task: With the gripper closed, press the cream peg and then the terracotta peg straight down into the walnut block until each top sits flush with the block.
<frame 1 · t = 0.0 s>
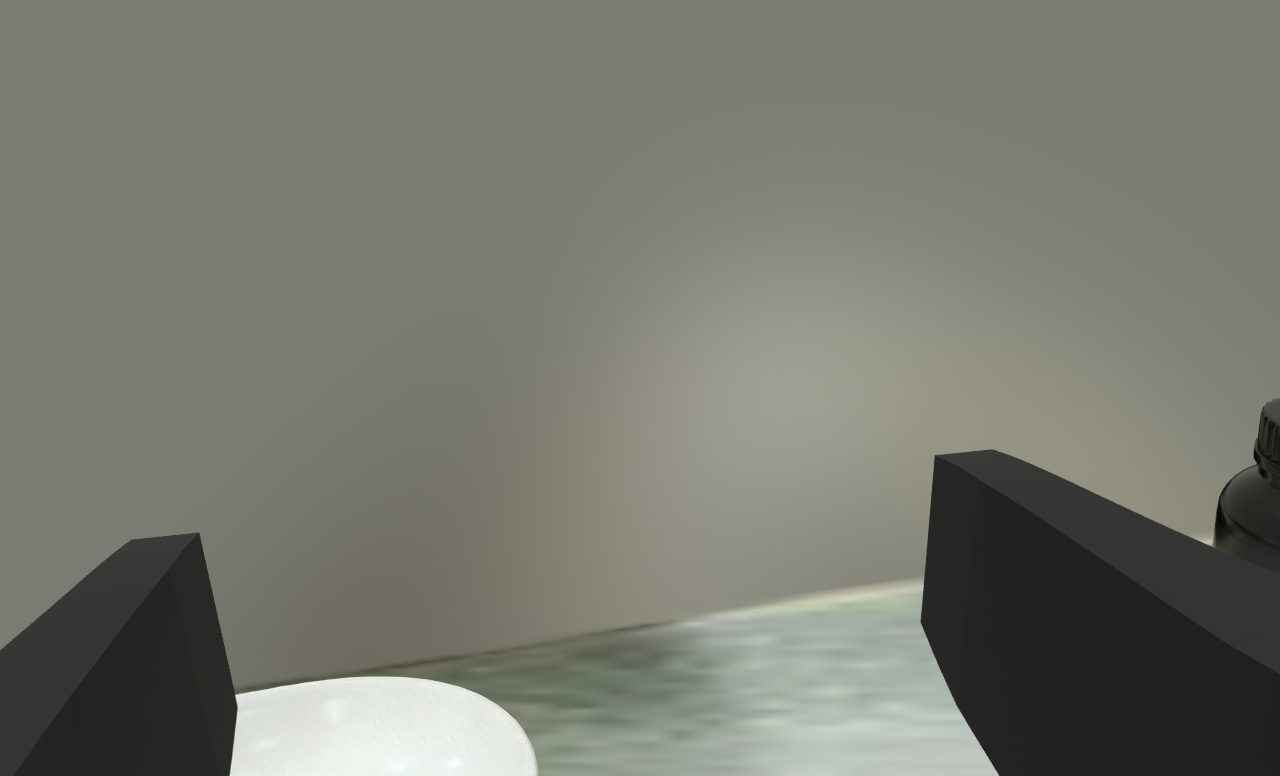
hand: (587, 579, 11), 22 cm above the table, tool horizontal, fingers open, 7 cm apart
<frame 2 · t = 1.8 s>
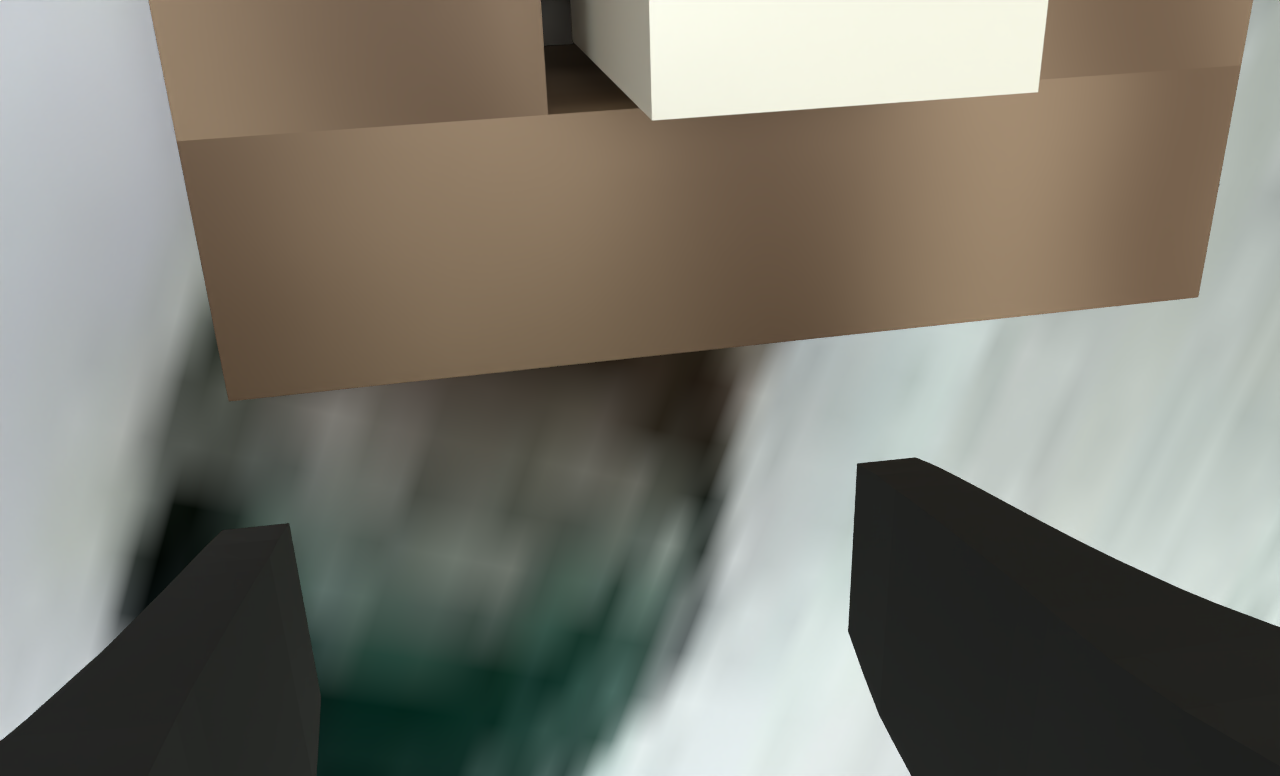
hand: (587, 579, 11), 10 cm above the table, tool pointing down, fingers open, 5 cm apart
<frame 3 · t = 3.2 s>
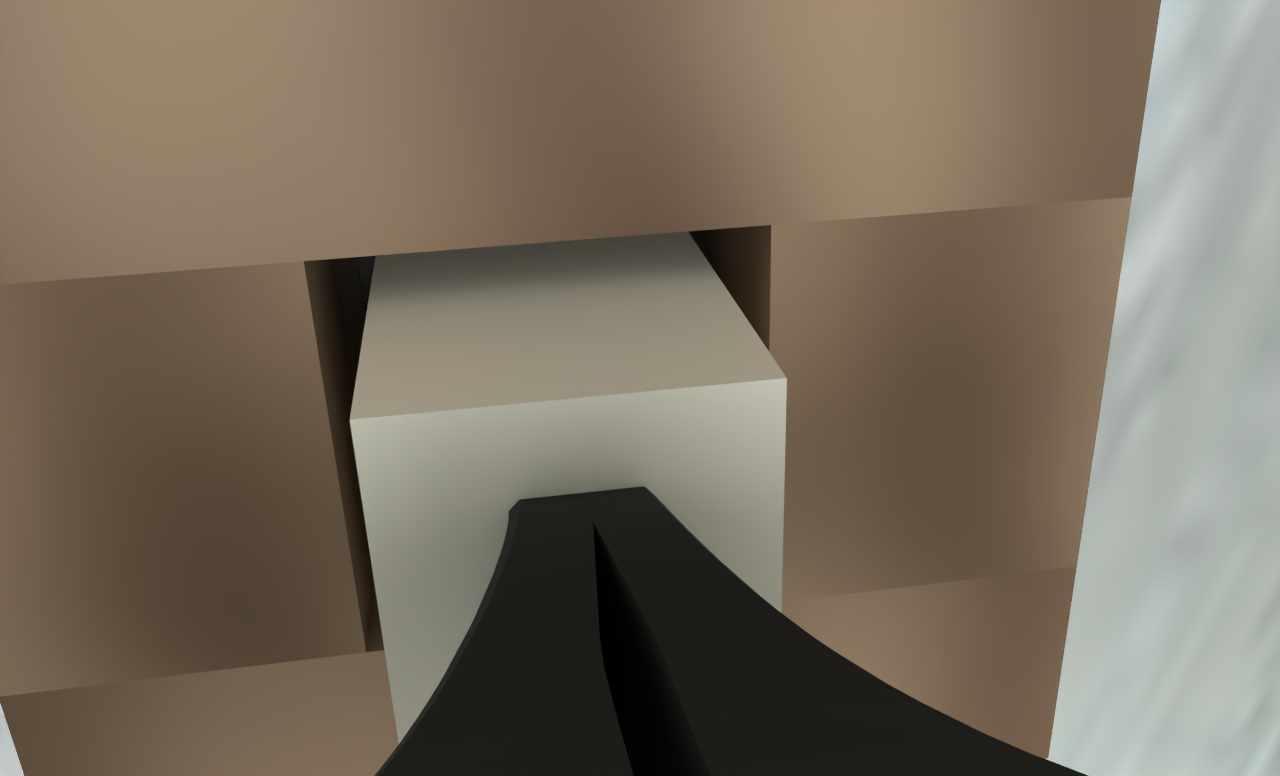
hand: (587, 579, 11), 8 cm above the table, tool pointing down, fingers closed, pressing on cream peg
cream peg: (559, 457, 14), point 6 cm above the table, slide at 2.8 cm, touching gripper
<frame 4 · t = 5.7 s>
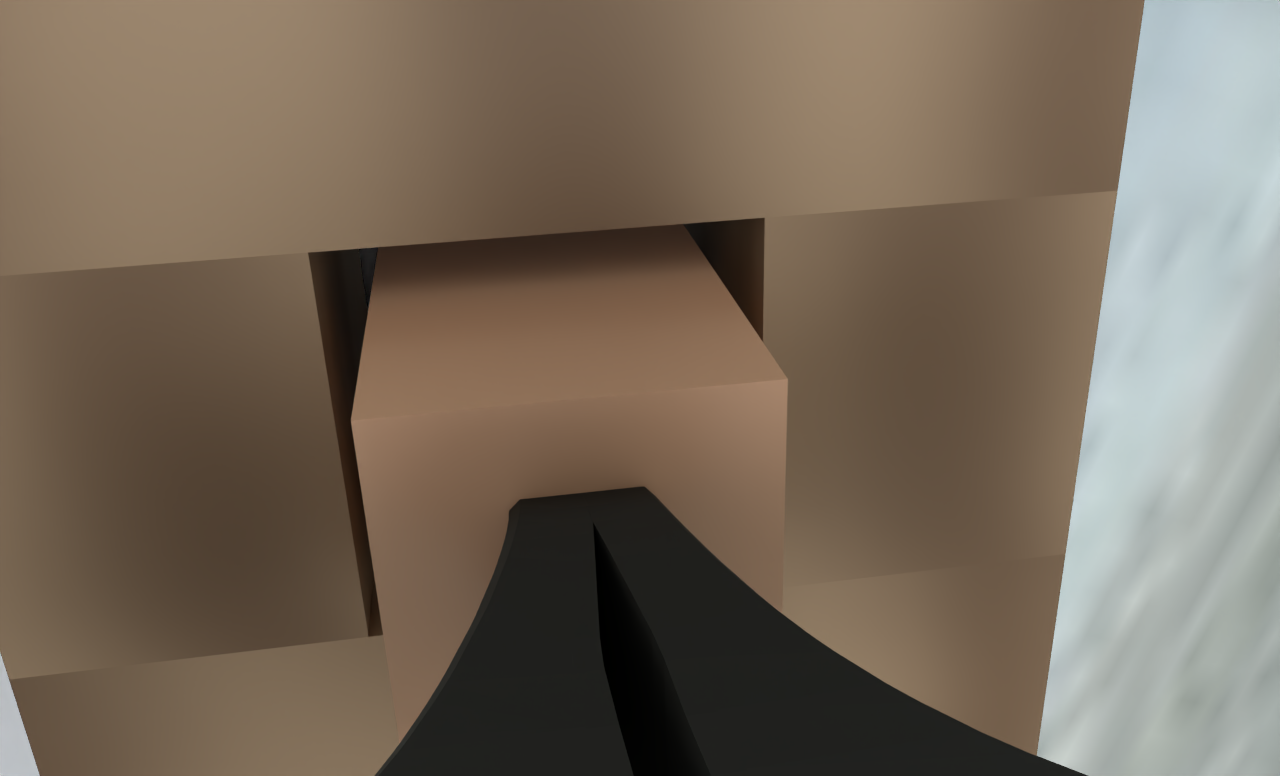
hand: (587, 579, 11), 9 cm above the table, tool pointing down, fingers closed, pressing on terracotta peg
terracotta peg: (560, 458, 14), point 6 cm above the table, slide at 3.2 cm, touching gripper
walnut block: (549, 592, 22), on the table
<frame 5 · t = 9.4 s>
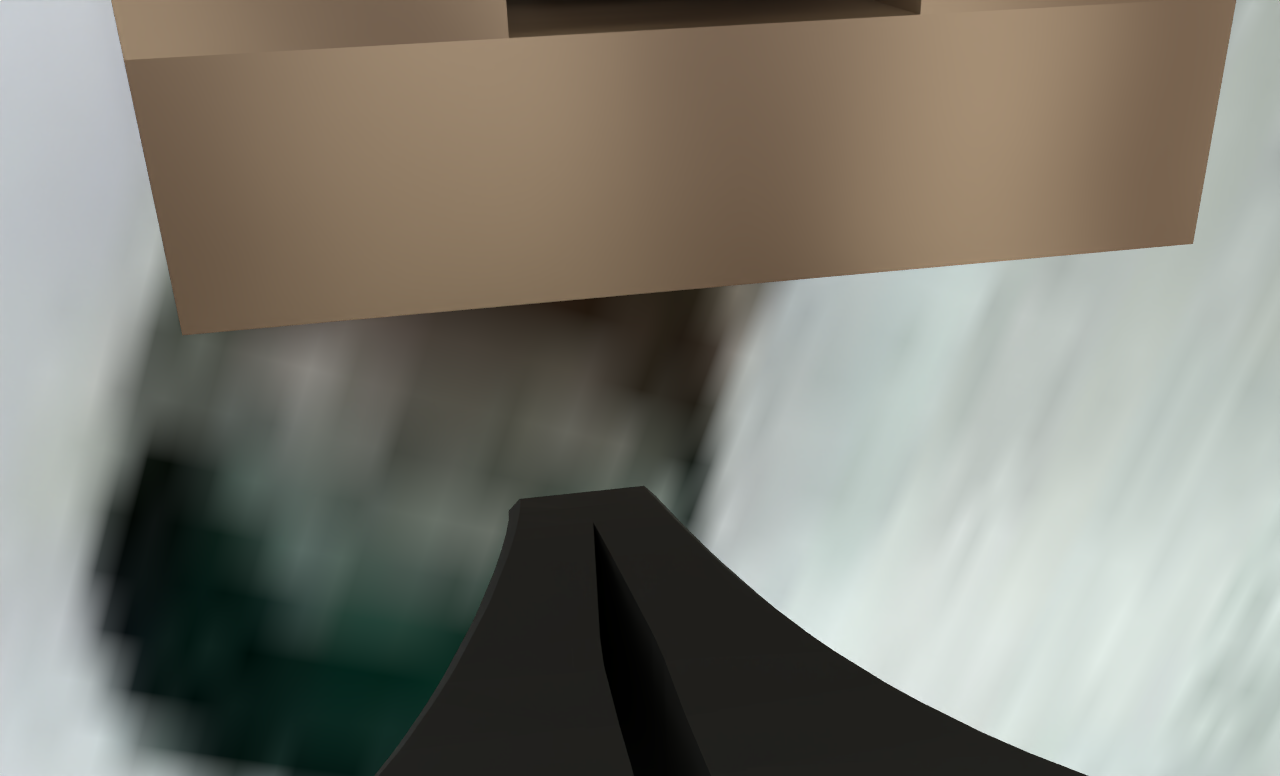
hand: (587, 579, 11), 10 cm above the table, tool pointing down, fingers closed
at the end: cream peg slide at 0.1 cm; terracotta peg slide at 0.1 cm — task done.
